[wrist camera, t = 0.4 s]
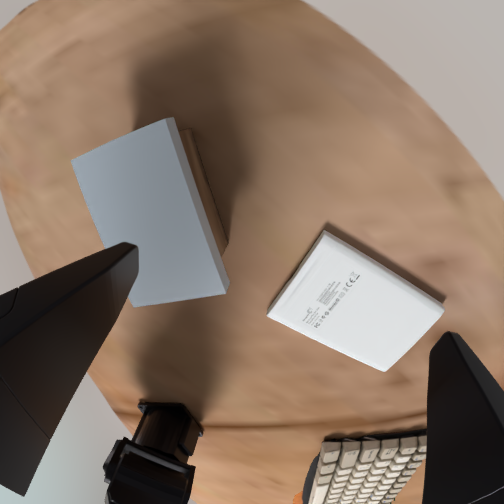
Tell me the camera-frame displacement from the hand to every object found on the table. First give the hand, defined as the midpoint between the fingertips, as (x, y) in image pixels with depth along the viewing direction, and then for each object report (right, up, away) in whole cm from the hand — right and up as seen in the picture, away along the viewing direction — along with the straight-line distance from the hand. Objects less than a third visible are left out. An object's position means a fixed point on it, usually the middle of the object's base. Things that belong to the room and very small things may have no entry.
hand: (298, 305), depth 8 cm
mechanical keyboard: (+15, -37, +33) cm, 51 cm away
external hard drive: (+7, -3, +17) cm, 19 cm away
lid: (-7, +3, +10) cm, 13 cm away
